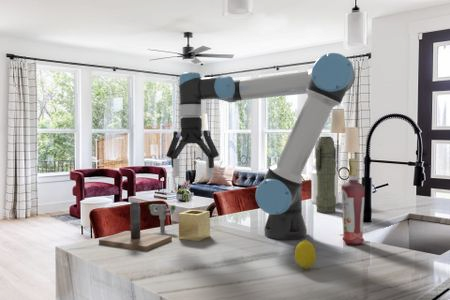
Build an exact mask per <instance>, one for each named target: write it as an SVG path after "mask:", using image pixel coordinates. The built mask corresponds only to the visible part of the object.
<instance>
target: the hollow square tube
mask: <svg viewBox="0 0 450 300" xmlns="http://www.w3.org/2000/svg"><path fill="white" fill-rule="evenodd" d="M210 212H211V211H209V210H198V209H188V210H185V211H182V212H179V213H178V239H179V240H183V241H185V240H186V241H193V242H201V241H202V240H205V239H207V238H209V237H210V236H211V226H210V225H211V223H210V222H211V220H210V217H211V215H210V214H211V213H210Z"/></svg>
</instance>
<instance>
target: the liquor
mask: <svg viewBox="0 0 450 300" xmlns="http://www.w3.org/2000/svg"><path fill="white" fill-rule="evenodd" d="M348 165H349V172H348V181H347V182H346V183H343V184H342V185H341V203H342V205H341V206H342V220H343V221H342V222H343V223H342V225H343V227H342V228H343V237H342V241H343V242H344V243H345V244H346V245H350V246H359V245H361V244H362V243H363V242H364V241H365V239H364V237H363V233H364V228H363V227H364V211H365V191H366V190H365V189H366V188H365V187H366V186H365V185H364V184H362V183H360V182H358V181H359V180H358V169H357V168H358V167H357V166H358V158H348Z"/></svg>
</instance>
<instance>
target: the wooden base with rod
mask: <svg viewBox="0 0 450 300" xmlns="http://www.w3.org/2000/svg"><path fill="white" fill-rule="evenodd" d="M129 205H130V206H129V208H130V209H129V211H130V217H129V218H130V230H125V231H121V232H118V233H115V234H112V235H109V236H106V237H103V238H99V239H98V244H99V245H101V246H103V245H104V246H109V247H110V246H111V247H116V248H124V249H130V250H137V251H141V252H142V251H143V252H148V251H150V250H153V249H155V248H157V247H160V246H162V245H165V244H167V243H170V242H172V239H173V238H172V237H173V236H171V235H163V234H156V233H147V232H141V205H140V203H139V201H132V202H131V203H130V204H129Z"/></svg>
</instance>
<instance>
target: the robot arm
mask: <svg viewBox="0 0 450 300" xmlns="http://www.w3.org/2000/svg"><path fill="white" fill-rule="evenodd" d="M355 78H356V77H355V70H354V67H353V64H352V62H351V60H350V59H349V58H348V57H346V56H344V55H343V54H341V53H336V52H330V53H325V54H323V55H322V56H320V57H318V58H317V60H316V61H315V62H314V64H313V66H312V67H311V69H310V70H309V71H308V70H307V71H302V72H293V73H284V74H278V75H267V76H261V77H252V78H244V79H238V80H237V79H235V80H234V79H233V77H232V76H229V75H225V76H224V75H220V76H212V77H211V76H210V77H209V76H208V77H202V76H201V74H200V73H199V72H196V71H195V72H194V71H193V72H190V71H188V72H182V73H181V74H179V82H178V83H179V85H178V88H179V113H180V115H179V116H180V117H181V118H180V123H179V124H180V129H181V130H180V131H178V130H177V131H175V130H174V131H173V134H172V140H171V142H170V145H169V147H168V150H167V152H166V155H165V156H166V157H167V158H170V161H171V168H172V169H173V177H174V178H179V177H180V158H179V157H178V156H179V155H180V154H181V152H182V151H183V150H184V148H185V146H187V145H188V144H196V145H197V146H198V147H199V148H200V149H201V150H202V152H203V153H204V154H205V156H206V159H205V170H206V171H205V173H206V174H205V175H206V179H211V178H213V168H214V167H215V158H218V157H219V155H220V153H219V151H218V149H217V147H216V146H215V143H214V141H213V139H212V136H211V132H210V130H208V129H206V130H202V129H203V122H202V121H203V119H202V117H201V116H202V100H204V101H205V100H218V101H219V100H220V101H224V102H227V103H237V102H238V101H245V100H255V99H265V98H276V97H286V96H287V97H288V96H295V95H307V97H306V99H305V101H304V103H303V106H302V108H301V109H300V112H299V114H298V115H297V119H296V121H295V123H294V125H293V128H292V129H291V132H290V133H289V136H288V138H287V140H286V143H284V144H285V145H284V146H283V148H282V151H281V153H280V155H279V158H278V160H277V162H276V163H275V164H273V165H270V166H269V168H268V170H267V172H266V174H265V176H264V179H263V180H262V181H261V182H260V183H258V185H257V187H256V190H255V194H254V195H255V202H256V203H257V205H258V207H259V208H260V209H261V210H262V211H263V212H265V213H266V214H268V216H267V219H266V222H265V226H264V236H265V237H268V238H270V239H275V240H276V239H277V240H286V241H287V240H298V239H299V240H300V239H304V238H305V237H307V235H308V229H307V226H306V222H305V220H304V217H303V213H302V210H303V205H302V203H303V201H302V195H303V194H302V192H303V191H302V186H303V185H302V184H303V178H302V173H303V171H304V169H305V167H306V165H307V162H308V160H309V158H310V157H311V154H312V153H313V151H314V148H315V147H316V144H317V143H318V140H319V138H320V137H321V133H322V131H323V129H324V127H325V125H326V123H327V121H328V119H329V117H330V115H331V113H332V111H333V108H335V107H337V106H339V105H341V103H342V101H343V99H344V97H345V95H346V94H347V92H348V91H349V90H350V89H352V87H353V85H354V82H355ZM202 137H204V140H205V141H204V140H203V138H202ZM180 138H181V139H180ZM205 143H206V144H207V145H206V144H205Z"/></svg>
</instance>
